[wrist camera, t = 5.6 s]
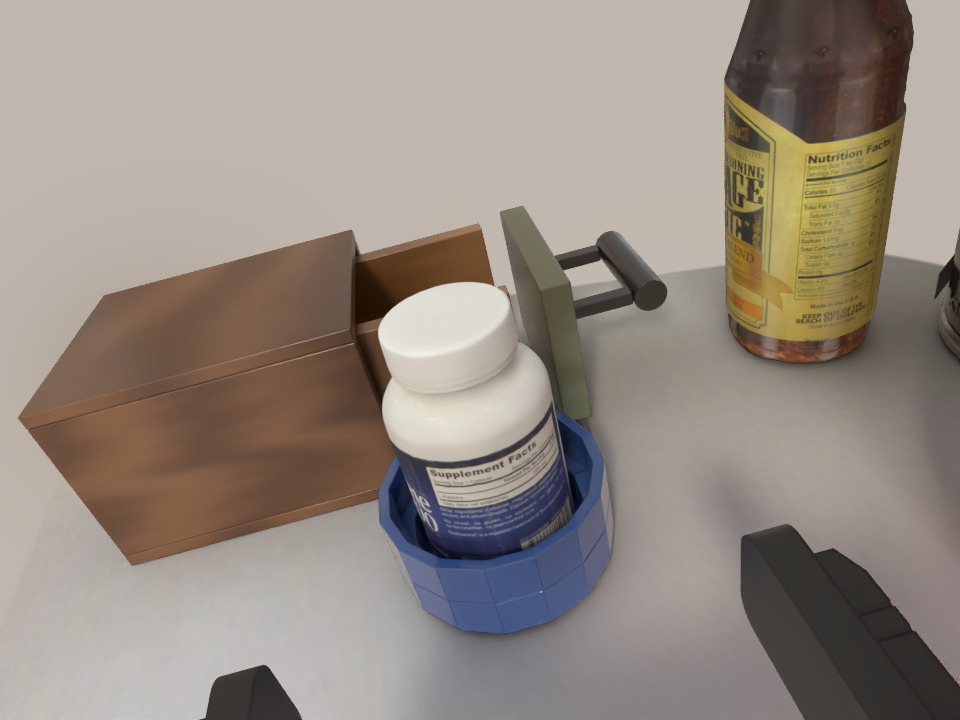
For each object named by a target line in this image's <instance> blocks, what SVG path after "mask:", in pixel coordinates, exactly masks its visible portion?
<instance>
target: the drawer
mask: <svg viewBox="0 0 960 720" xmlns="http://www.w3.org/2000/svg"><path fill="white" fill-rule="evenodd" d="M500 216H501V221H502V226H503V230H504V235H505V240H506V245H507V249H508V255H509V259H510V264H511V269H512V274H513V278H514V283H515V288H516V293H517V298H518V302H519V307H520V312H521V317H522V321H523V326H524V328H525V331H526V333H527V336H528V338H529V340H530V343H531V345H532V347H533V350H534V352H535V353H536V354H537V355H538V356H539V358H540V359H541V360H542V362H543V364H544V366H545V368H546V370H547V373H548V376H549V381H550V385H551V390H552V394H553V397H554V399H555V401H556V404H557V406H558V408H559V411H560V412H562V413H564V414H566V415H568V416H569V417H570V418H572V419H573V420H577V419H581V418H585V417H588V416H591V410H590V404H589V398H588V391H587V385H586V379H585V372H584V366H583V360H582V353H581V347H580V340H579V334H578V328H577V321H576V319H579V318H583V317H587V316H590V315H594V314H598V313H601V312H605V311H609V310H613V309H616V308H620V307H624V306H627V305H631V304H633V302H634V303H635V304H636V305H637V307H638V308H640V309H642V310H645V311H650V310H654V309H656V308H658V307H659V306H661V305H662V304H663V303H664V301H665V299H666V297H667V288H666V286H665V284H664V283H663V282H662V281H661V280H660V279H659V278H658V276H657V275H656V274H655V273H654V272H653V271H652V270H651V268H650V267H649V266H648V265H647V264H646V263H645V262H644V261H643V259H642V258H641V257H640V256H639V255H638V254H637V253H636V251H635V250H634V249H633V248H632V247H631V246H630V245H629V244H628V242H627V241H626V240H625V239H624V238H623V237H622V236H621V235H620V234H619V233H618V232H614V231H609V232H606V233H604V234H602V235H601V236H600V237H599V238H598V240H597V242H596V245H594V246H590V247H586V248H583V249H579V250H575V251H571V252H568V253H564V254H560V255H556V256H554V255H553V253H552V252H551V250H550V249H549V247H548V245H547V244H546V242H545V240H544V239H543V237H542V235H541V234H540V232H539V230H538V229H537V227H536V226H535V224H534V223H533V221H532V219H531V217H530V216H529V214H528V213H527V211H526V209H525V208H524V206H519V207H516V208H512V209H508V210H505V211H501V212H500ZM600 258H601V259H602V260H603V262H604V263H605V264H606V266H607V267H608V268H609V270H610V271H611V272H612V274H613V275H614V276H615V278H616V279H617V280H618V282H619V283H620V284H621V286H622V287H623V288H620V289H616V290H613V291H609V292H605V293H601V294H598V295H594V296H590V297H587V298H583V299H579V300H575V301H573V296H572V290H571V283H570V281H569V279H568V278H567V276H566V274H565V273H564V271H563V270H566V269H570V268H574V267H578V266H582V265H585V264H589V263H593V262H596V261H599V260H600ZM460 282H477V283H485V284H489V285H492V286H494V282H493V277H492V273H491V269H490V264H489V260H488V256H487V251H486V247H485V242H484V238H483V233H482V229H481V227H480V225H479V224H474V225H471V226H467V227H463V228H459V229H456V230H452V231H448V232H445V233H440V234H437V235H433V236H430V237H425V238H422V239H418V240H414V241H410V242H407V243H403V244H400V245H395V246H392V247H388V248H384V249H381V250H377V251H373V252H369V253H366V254H362V255H358V256H355V336H356V338H357V340H358V343H359V346H360V348H361V351H362V354H363V356H364V359H365V361H366V364H367V367H368V369H369V372H370V375H371V377H372V380H373V383H374V385H375V388H376V391H377V393H378V396H379V399H380V401H381V404H382V403H383V397H384V394H385V391H386V388H387V386H388V384H389V382H390V380H391V379H392V376H391V373H390V371H389V369H388V367H387V363H386V360H385V357H384V354H383V352H382V348H381V345H380V342H379V337H378V330H379V326H380V323H381V321H382V320H383V318H384V317H385V316H386V314H387V313H388V312H389V311H390V310H391V309H392V308H393V307H395V306H396V305H397V304H399V303H400V302H402V301H403V300H405V299H406V298H408V297H411V296H413V295H415V294H417V293H419V292H421V291H424V290H427V289H430V288H433V287H436V286H440V285H445V284H450V283H460ZM497 288H499V289H500V290H502V291H503V292H504V293H505V294H506V295H507V297H508V299H509V301H510V297H509V293H508V291H507V288H506V286H504V285H503V286H500V287H497ZM510 303H511V301H510ZM511 308H512V306H511ZM512 312H513V311H512ZM518 342H519V339H518Z"/></svg>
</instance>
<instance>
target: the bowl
mask: <svg viewBox="0 0 960 720" xmlns="http://www.w3.org/2000/svg"><path fill="white" fill-rule="evenodd" d="M555 412H556V417H557V422H558V428H559V433H560V438H561V443H562V448H563V453H564V458H565V463H566V468H567V473H568V478H569V484H570V489H571V495H572V500H573V506H574V510H575V513H574V515H573V516H572V518H571V519H570V520H569V522H568V523H567V525H565V526H564V527H562V528H560V529H559V530H557V531H556V532H554V533H553V534H551V535H550V536H548V537H547V538H545V539H544V540H542V541H541V542H539V543H538V544H536V545H535V546H533V547H532V548H530V549H527V550H523V551H520V552H516V553H512V554H509V555H505V556H501V557H498V558H494V559H490V560H487V561H476V560H459V559H441V558H439V557H437V556H436V555H435V553H434V551H433V548H432V546H431V544H430V541H429V539H428V536H427V533H426V531H425V528H424V526H423V523H422V521H421V518H420V516H419V513H418V510H417V508H416V505H415V503H414V500H413V497H412V495H411V492H410V490H409V487H408V484H407V482H406V479H405V477H404V474H403V471H402V469H401V466H400V464H399V461H398V459H397V456H396V457H395V458H394V459H393V460H392V462H391V465H390V467H389V469H388V471H387V473H386V475H385V477H384V479H383V482H382V484H381V486H380V488H379V491H378V495H379V521H380V525H381V527H382V529H383V532H384V534H385V536H386V539H387V541H388V543H389V546H390V548H391V550H392V552H393V554H394V557H395V559H396V562H397V564H398V566H399V568H400V571H401V573H402V575H403V578H404V580H405V582H406V584H407V585H408V587H409V588H410V590H411V591H412V593H413V594H414V596H415V597H416V599H417V600H418V602H419V603H420V605H421V606H422V608H423V609H424V610H426V611H427V612H429V613H431V614H432V615H434V616H436V617H438V618H440V619H442V620H443V621H445V622H447V623H449V624H451V625H453V626H454V627H456V628H460V630H467V631H478V632H489V633H500V634H504V633H505V634H507V633H511V632H515V631H518V630H522V629H526V628H529V627H533V626H536V625H540V624H544V623H547V622H550V621H552V620H554V619H555V618H557V617H558V616H560V615H561V614H562V613H564V612H565V611H567V610H568V609H569V608H571V607H572V606H573V605H575V604H576V603H578V602H579V601H580V600H582V599H583V598H585V597H586V596H587V595H588V594H589V593H590V592H591V590H592V588H593V587H594V585H595V584H596V582H597V580H598V579H599V577H600V576H601V574H602V572H603V571H604V569H605V568H606V566H607V564H608V563H609V561H610V557H611V549H612V539H613V528H614V524H613V516H612V509H611V503H610V496H609V489H608V482H607V476H606V469H605V463H604V459H603V457H602V455H601V453H600V451H599V449H598V447H597V444H596V442H595V440H594V438H593V436H592V434H591V433H590V432H589V431H588V430H586V429H585V428H584V427H582V426H581V425H580V424H578V423H577V422H576V421H574V420H573V419H572V418H570V417H569V416H568V415H566V414H564V413H562V412H558V411H555Z"/></svg>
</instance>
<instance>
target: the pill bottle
mask: <svg viewBox="0 0 960 720" xmlns="http://www.w3.org/2000/svg"><path fill="white" fill-rule="evenodd" d="M378 337H379V342H380V345H381V348H382V352H383V354H384V357H385V360H386V363H387V367H388V369H389V371H390V373H391V376H392V379H391V380H390V382H389V384H388V386H387V388H386V391H385V394H384V397H383V403H382V414H383V420H384V423H385V426H386V430H387V433H388V436H389V438H390V441H391V444H392V446H393V448H394V451H395V454H396V456H397V459H398V461H399V464H400V466H401V469H402V471H403V474H404V477H405V479H406V482H407V484H408V487H409V490H410V492H411V495H412V497H413V500H414V503H415V505H416V508H417V510H418V513H419V516H420V518H421V521H422V523H423V526H424V528H425V531H426V533H427V536H428V539H429V541H430V544H431V546H432V548H433V551H434V553H435V555H436V556H437V557H439V558H441V559H459V560H476V561H487V560H490V559H494V558H498V557H501V556H505V555H509V554H512V553H516V552H520V551H523V550H527V549H530V548H532V547H533V546H535V545H536V544H538V543H539V542H541V541H542V540H544V539H545V538H547V537H548V536H550V535H551V534H553V533H554V532H556V531H557V530H559V529H560V528H562V527H564V526H565V525H567V523H568V522H569V520H570V519H571V518H572V516H573V515H574V513H575V510H574V506H573V500H572V495H571V489H570V484H569V478H568V473H567V468H566V463H565V458H564V453H563V448H562V443H561V438H560V433H559V428H558V422H557V417H556V412H555V406H554V401H553V395H552V390H551V385H550V381H549V376H548V373H547V370H546V368H545V366H544V364H543V362H542V360H541V359H540V358H539V356H538V355H537V354H536V353H535V352H534V351H533V350H531V349H530V348H529V347H527V346H526V345H524V344H522V343H520V342H518V339H519V333H518V328H517V326H516V323H515V319H514V315H513V312H512V308H511V303H510V301H509V299H508V297H507V295H506V294H505V293H504V292H503V291H502V290H500V289H499V288H497V287H495V286H492V285H489V284H485V283H477V282H460V283H450V284H445V285H440V286H436V287H433V288H430V289H427V290H424V291H421V292H419V293H417V294H415V295H413V296H411V297H408V298H406V299H405V300H403V301H402V302H400V303H399V304H397V305H396V306H395V307H393V308H392V309H391V310H390V311H389V312H388V313H387V314H386V316H385V317H384V318H383V320H382V321H381V323H380V326H379V330H378Z"/></svg>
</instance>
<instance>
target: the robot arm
mask: <svg viewBox="0 0 960 720" xmlns="http://www.w3.org/2000/svg"><path fill="white" fill-rule="evenodd" d="M949 280H950V281H949ZM948 281H949V287H948V292H947V294H946V295H945V297H944V299H943V302H942V307H941V312H940V317H939V330H940V334H941V336H942V338H943V340H944V341H945V343H946V345H947V346H948V347H949V348H950V349H951V350H952V352H954V353H955V354H956V355H957V356H958V357H959V358H960V230H959V235H958V240H957V244H956V250H955V254H954V256H953V257H952V258H951V260H950V261H949V262H948V263H947V264H946V266H945V267H944V268H943V270H942V271H941V272H940V273H939V277H938V283H937V288H936V293H935V299H936V297H937V296H938V295H939V293H940V292H941V291H942V289H943V288H944V287H945V285H946V284H947V283H948ZM935 299H934V300H935ZM741 597H742V602H743V605H744V609H745V612H746V614H747V617H748V619H749V622H750V624H751V626H752V628H753V630H754V632H755V633H756V635H757V637H758V639H759V640H760V642H761V644H762V646H763V647H764V649H765V651H766V653H767V654H768V656H769V658H770V660H771V661H772V663H773V665H774V667H775V668H776V670H777V672H778V674H779V675H780V677H781V679H782V681H783V682H784V684H785V686H786V687H787V689H788V691H789V693H790V694H791V696H792V698H793V700H794V701H795V703H796V705H797V707H798V708H799V710H800V712H801V714H802V715H803V717H804V719H805V720H960V686H959V685H958V684H957V682H956V681H955V680H954V679H953V677H952V676H951V675H950V674H949V672H948V671H947V670H946V669H945V667H944V666H943V665H942V664H941V662H940V661H939V660H938V659H937V657H936V656H935V655H934V654H933V653H932V651H931V650H930V649H929V648H928V646H927V645H926V644H925V643H924V641H923V640H922V639H921V638H920V636H919V635H918V634H917V633H916V631H912V629H911V627H910V624H909V623H908V622H907V620H906V619H905V618H904V617H903V615H902V614H901V613H900V612H899V610H898V609H897V608H896V607H895V606H894V607H893V606H892V604H891V602H890V599H889V598H888V597H887V595H886V594H885V593H884V592H883V590H882V589H881V588H880V587H879V586H878V584H877V583H876V582H875V581H874V579H873V578H872V577H871V576H870V574H869V573H868V572H867V571H866V570H865V569H863V568H862V567H860V566H859V565H857V564H856V563H854V562H853V561H851V560H850V559H848V558H847V557H845V556H844V555H843V554H841V553H840V552H838V551H837V550H835V549H834V548H833V549H829V550H825V551H822V552H818V553H813V552H812V550H811V549H810V548H809V546H808V545H807V544H806V542H805V541H804V540H803V538H802V537H801V535H800V534H799V533H798V532H797V531H796V530H795V529H794V528H793V527H792V526H791V525H788V524H785V525H781V526H777V527H774V528H770V529H766V530H763V531H759V532H755V533H752V534H748V535H744V536H743V537H742V539H741ZM200 720H302V719H301V716H300V714H299V712H298V710H297V708H296V707H295V705H294V704H293V702H292V701H291V700H290V698H289V697H288V695H287V694H286V692H285V691H284V689H283V688H282V686H281V685H280V683H279V682H278V680H277V679H276V677H275V676H274V674H273V673H272V672H271V670H270V669H269V668H268V667H267V666H266V665H261V666H257V667H254V668H250V669H246V670H243V671H239V672H235V673H232V674H228V675H224V676H221V677H219V678H217V679H216V680H215V682H214V684H213V686H212V689H211V693H210V698H209V703H208V708H207V713H206V718H204V719H200Z"/></svg>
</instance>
